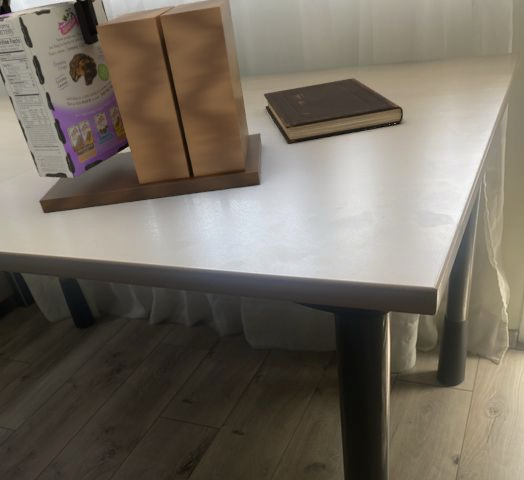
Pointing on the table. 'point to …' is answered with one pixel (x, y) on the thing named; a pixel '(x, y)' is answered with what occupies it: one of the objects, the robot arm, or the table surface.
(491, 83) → the table surface
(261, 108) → the table surface
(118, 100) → the split wooden block stand
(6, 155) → the table surface
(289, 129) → the hardcover book
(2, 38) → the candy box
